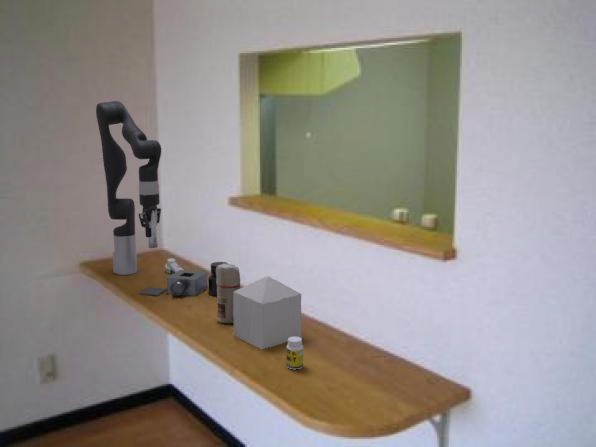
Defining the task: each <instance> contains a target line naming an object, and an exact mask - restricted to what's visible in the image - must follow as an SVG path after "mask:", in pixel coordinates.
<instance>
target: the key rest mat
mask: <svg viewBox="0 0 596 447" xmlns="http://www.w3.org/2000/svg"><path fill="white" fill-rule="evenodd" d="M165 292H167V288H162V287H151V286H149V287H147V288H145V289H144V290H142V291H140V292H139V293H138V294H139V295H142V296H152V297H153V296H154V297H159V296H160V295H162V294H164V293H165Z"/></svg>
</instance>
